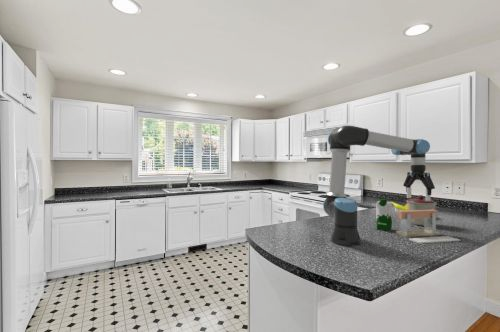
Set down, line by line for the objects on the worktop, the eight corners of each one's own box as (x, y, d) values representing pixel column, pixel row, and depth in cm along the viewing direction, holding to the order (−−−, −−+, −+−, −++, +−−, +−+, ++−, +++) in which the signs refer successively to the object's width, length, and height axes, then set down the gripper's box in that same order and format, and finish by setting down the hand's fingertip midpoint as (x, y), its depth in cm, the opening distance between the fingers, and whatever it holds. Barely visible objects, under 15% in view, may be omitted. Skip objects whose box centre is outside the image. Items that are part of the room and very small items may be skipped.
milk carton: (374, 229, 166) (375, 199, 166) (379, 227, 173) (379, 197, 173) (389, 232, 160) (389, 200, 160) (393, 229, 167) (393, 199, 167)
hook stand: (406, 236, 149) (406, 214, 149) (395, 233, 157) (395, 212, 157) (439, 235, 154) (440, 213, 154) (428, 231, 161) (428, 211, 161)
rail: (401, 219, 151) (401, 211, 151) (397, 218, 154) (397, 210, 154) (437, 217, 156) (437, 210, 156) (433, 216, 159) (433, 209, 159)
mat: (419, 243, 136) (419, 242, 136) (408, 239, 143) (408, 238, 143) (460, 241, 141) (460, 239, 141) (448, 237, 148) (448, 236, 148)
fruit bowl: (437, 217, 209) (437, 203, 209) (422, 221, 194) (422, 206, 194) (401, 212, 232) (401, 199, 232) (385, 215, 217) (386, 201, 217)
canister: (409, 226, 176) (409, 196, 176) (403, 220, 193) (403, 193, 193) (440, 228, 170) (440, 197, 170) (431, 222, 187) (431, 194, 187)
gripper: (442, 164, 144) (442, 201, 144) (406, 164, 168) (406, 196, 168) (431, 164, 142) (431, 202, 142) (397, 164, 167) (397, 196, 166)
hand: (418, 199), depth 155 cm, fingers open, 13 cm apart
